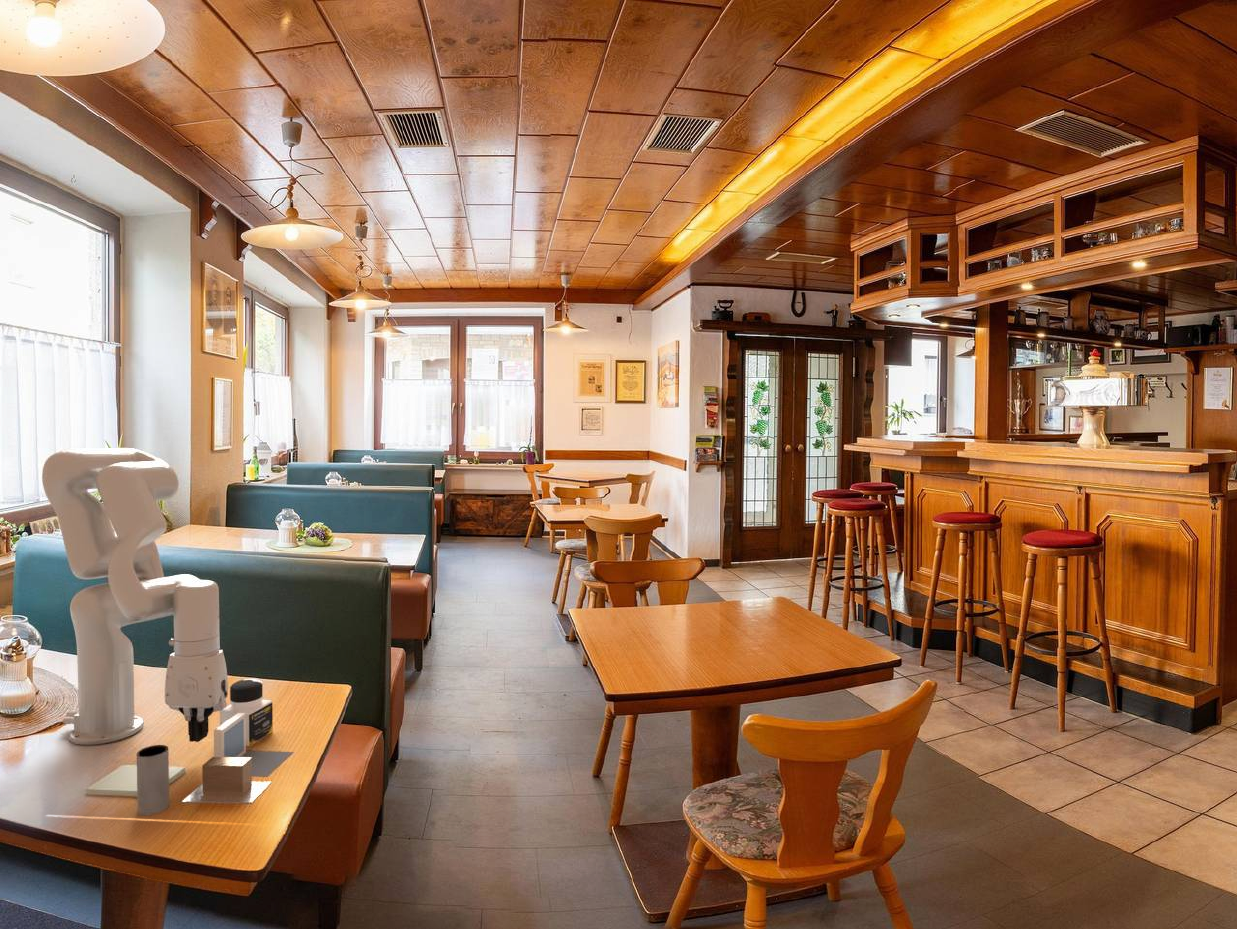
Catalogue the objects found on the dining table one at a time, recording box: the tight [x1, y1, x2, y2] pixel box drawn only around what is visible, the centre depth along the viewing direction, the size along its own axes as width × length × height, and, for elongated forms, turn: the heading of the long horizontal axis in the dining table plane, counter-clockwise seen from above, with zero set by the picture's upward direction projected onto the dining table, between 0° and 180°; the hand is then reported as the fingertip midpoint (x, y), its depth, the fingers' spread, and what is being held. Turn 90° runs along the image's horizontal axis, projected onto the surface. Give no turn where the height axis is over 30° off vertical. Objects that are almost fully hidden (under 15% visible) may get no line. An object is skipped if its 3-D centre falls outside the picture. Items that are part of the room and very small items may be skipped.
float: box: [181, 756, 272, 804], centre depth 127 cm, size 12×7×6 cm, turn 91°
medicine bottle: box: [219, 678, 274, 747], centre depth 149 cm, size 7×7×12 cm
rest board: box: [85, 764, 186, 797], centre depth 130 cm, size 12×9×1 cm
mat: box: [241, 749, 295, 778], centre depth 138 cm, size 12×10×1 cm
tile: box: [213, 713, 247, 757], centre depth 138 cm, size 2×8×8 cm, turn 178°
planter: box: [136, 744, 170, 816], centre depth 122 cm, size 4×4×10 cm
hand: (198, 738), depth 139 cm, fingers closed
